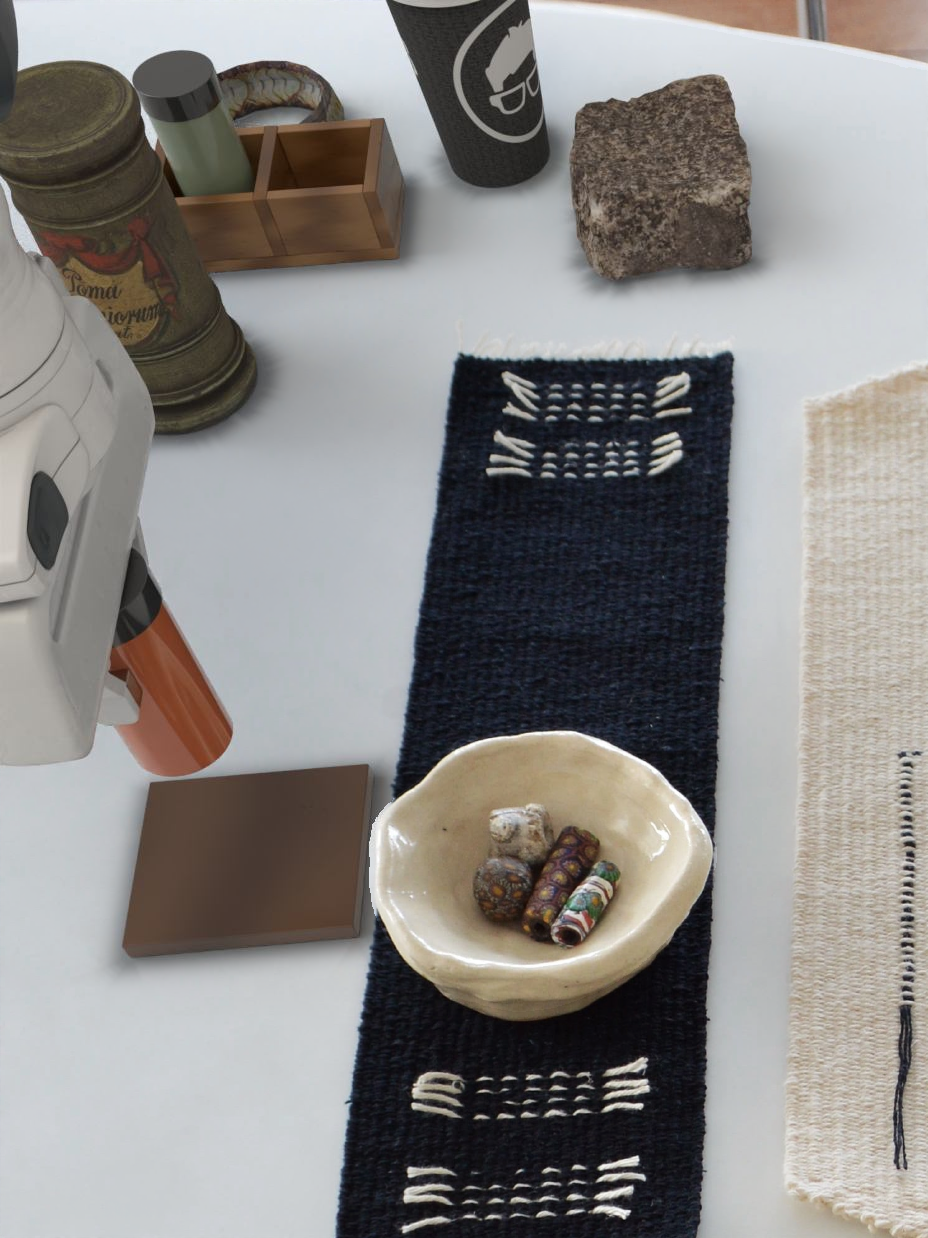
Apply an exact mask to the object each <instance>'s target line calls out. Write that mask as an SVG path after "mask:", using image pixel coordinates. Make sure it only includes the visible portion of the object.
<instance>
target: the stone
mask: <svg viewBox="0 0 928 1238" xmlns="http://www.w3.org/2000/svg"><path fill="white" fill-rule="evenodd" d="M731 91H732V90H731V89H730V86H729V83H728V82H727V80H726V79H725V77H724V76H722V75H719V74H714V73H711V74H709V73H708V74H701V75H697V76H694V77H690V78H680V79H676V80H674V81H671V82H669V83H667V84H666V85H665V86H663V87H661V88H658V89H655V90H653V91H650V92H646V93H644V94H642V95H640V96H639V97H631V98H630V99H629V100H628V101H625V100H621V99H617V98H614V97H610V98H609V99H606V100H605V101H593V102H592V101H591V102H587V103H585V104H584V106H583V107H581V109H579V110H578V111H577V112H576V113H575V117H574V136H573V139H571V141H572V147H571V149H570V151H569V155H568V160H569V162H568V163H569V173H570V174H569V175H570V189H571V203H572V208H573V212H574V216H575V223H576V225H575V226H576V237H577V239H578V240H579V242H580V247H581V249H582V250H583V252H584V254H585V260H586V262H587V263H588V265H589V267H590V268H591V269H593V270H594V271H595V272H596V273H597V274H598V275H599V276H600V277H601V278H604V279H605V280H606V279H607V280H609V281H619V280H621V279H623V278H627V277H628V278H629V277H641V276H646V275H651V274H654V273H658V272H661V271H666V270H671V269H676V268H680V267H683V268H686V269H692V268H693V269H695V270H705V269H706V270H724V271H730V270H732V269H733V268H735V267H739V266H742V265H745V264H747V263H748V262H750V259H751V258H752V255H753V247H752V243H753V241H752V232H753V231H752V230H753V229H752V228H751V224H750V219H749V213H748V210H749V209H748V208H749V206H750V205H751V202H750V197H751V187H752V181H753V175H752V171H751V170H752V169H751V168H752V167H751V166H752V165H751V162H750V161H749V160H748V159H749V157H748V156H749V155H748V148H747V142H746V141H745V139H744V138H743V137H742V136H741V133H740V125H739V123H738V120H737V118H736V105H735V100H734V98H733V96H732V95H733V93H732V92H731Z"/></svg>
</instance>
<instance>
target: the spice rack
mask: <svg viewBox="0 0 928 1238" xmlns="http://www.w3.org/2000/svg"><path fill="white" fill-rule="evenodd" d="M236 128H237V131H238V134H239V136H240V139H241V141H242V144H243V146H244V149H245V151H246V154H247V156H248V159H249V161H250V164H251V167H252V169H253V172H254V174H255V177H256V184H255V190H254V193H253V192H249V193H235V194H221V195H207V196H193V197H183V194H182V192H181V190H180V187H179V185H178V183H177V181H176V178H175V176H174V174H173V171H172V169H171V167H170V164H169V162H168V160H167V158H166V155H165V153H164V151H163V148H162V146H161V144H160V141H159V139H158V137H157V136H156V143H155V146H154V150H155V152H156V153H157V154H158V155H159V157H160V159H161V161H162V165H163V173H164V175H165V177H166V179H167V181H168V184H169V186H170V188H171V190H172V193H173V195H174V197H175V200H176V202H177V204H178V206H179V209H180V211H181V214H182V216H183V219H184V221H185V223H186V226H187V228H188V230H189V232H190V235H191V237H192V239H193V241H194V244H195V246H196V248H197V251H198V253H199V256H200V258H201V260H202V262H203V264H204V266H205V268H206V271H207V273H208V274H209V273H221V272H233V271H235V272H236V271H248V270H262V269H276V268H287V267H301V266H315V265H330V264H343V263H356V262H357V263H358V262H370V261H383V260H385V261H386V260H396V259H399V257H400V256H399V254H400V245H401V236H402V226H403V215H404V208H405V207H404V206H405V195H406V187H407V186H406V185H407V184H406V181H405V179H404V175H403V172H402V169H401V166H400V163H399V160H398V157H397V153H396V150H395V147H394V144H393V140H392V137H391V135H390V131H389V128H388V125H387V121H386V119H385V117H373V118H362V119H347V120H346V119H345V120H344V121H332V122H317V123H303V124H299V123H291V124H279V125H278V124H273V125H259V126H257V125H256V126H244V127H236Z"/></svg>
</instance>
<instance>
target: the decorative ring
mask: <svg viewBox="0 0 928 1238" xmlns="http://www.w3.org/2000/svg"><path fill="white" fill-rule="evenodd" d="M217 75H218V78H219V81H220V83H221V86H222V88H223V95H224V98H225V100H226V103H227V106H228V108H229V111H230V113H231V116H232V118H233V121H234V122H235V121H236V120H238V119H241V118H244V117H246V116H249V115H251V114H253V113H256V112H259V111H265V110H269V109H274V108H301V109H305V110H308V111H312V112H311V114H309V115H308V116H307V117H306V118H304V119H303V120H301V121H300V122H299V123H298V124H303V123H317V122H332V121H345V110H344V105H343V104H342V102H341V101H340V99H339V96H338V95H337V93H336V91H335V90H334V88H333V87H332V85H331V83H330V82H329V81H328V80H326V79H325V78H324V76H322V75H321V74H320V73H318V72H316V71H315V70H313V69H312V68H311V67H309V66H307V65H304V64H300V63H297V62H292V61H288V60H258V61H252V62H248V63H247V62H246V63H242V64H238V65H235V66H232V67H231V68H228V69H225V70H223V71H221V72H218V73H217Z"/></svg>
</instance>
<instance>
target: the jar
mask: <svg viewBox="0 0 928 1238" xmlns="http://www.w3.org/2000/svg"><path fill="white" fill-rule="evenodd" d="M217 74H218V73H217V71H216V67H215V66H214V63H213V61H212V60H211V59H210V58H209V56H207V55H206V54H204V53H202V52H198V51H195V50H189V49H176V50H170V51H169V50H168V51H164V52H162V53H158V54H155V55H153V56H151V57H150V58H148V59H145V60H144V61H143V62H141V63H140V64H139V65H138V66H137V67H136V68H135V70H134V72H133V74H132V77H131V84H132V85H133V87H134V88H135V90H136V92H137V94H138V96H139V99H140V103H141V108H142V109H143V111H144V112H145V114H146V115H147V116H148V119H149V121H150V123H151V125H152V127H153V130H154V132H155V134H156V138H157V137H158V139H159V141H160V144H161V146H162V148H163V151H164V153H165V155H166V158H167V160H168V162H169V164H170V167H171V169H172V171H173V174H174V176H175V178H176V181H177V183H178V185H179V187H180V190H181V192H182V194H183V197H193V196H207V195H221V194H235V193H249V192H253V193H254V190H255V184H256V177H255V174H254V172H253V169H252V167H251V164H250V161H249V159H248V156H247V154H246V151H245V149H244V146H243V144H242V141H241V139H240V136H239V134H238V131H237V128H238V127H237V126H236V123H235V121H233V118H232V116H231V113H230V111H229V108H228V106H227V103H226V100H225V98H224V95H223V88H222V86H221V83H220V81H219V78H218V75H217Z"/></svg>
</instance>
